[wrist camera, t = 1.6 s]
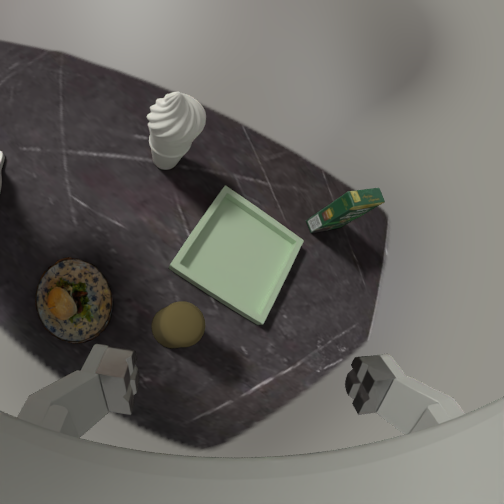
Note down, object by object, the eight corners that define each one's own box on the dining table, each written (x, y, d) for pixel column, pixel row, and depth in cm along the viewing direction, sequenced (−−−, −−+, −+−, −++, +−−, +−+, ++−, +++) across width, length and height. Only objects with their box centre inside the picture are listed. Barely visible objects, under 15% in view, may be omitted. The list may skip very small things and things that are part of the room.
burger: (126, 323, 38) (124, 320, 32) (58, 356, 33) (43, 359, 26) (94, 247, 39) (87, 230, 33) (27, 278, 34) (9, 266, 27)
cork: (197, 343, 41) (217, 345, 31) (156, 352, 39) (163, 356, 29) (188, 303, 42) (205, 291, 33) (147, 310, 40) (151, 300, 30)
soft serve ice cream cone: (189, 142, 50) (214, 77, 36) (189, 182, 48) (216, 120, 34) (142, 139, 47) (154, 70, 33) (139, 179, 45) (148, 114, 30)
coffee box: (309, 235, 54) (355, 206, 42) (303, 220, 54) (348, 189, 43) (340, 228, 57) (386, 202, 46) (335, 215, 58) (380, 186, 46)
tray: (168, 268, 43) (169, 264, 41) (221, 191, 50) (225, 185, 48) (257, 325, 45) (263, 324, 44) (297, 244, 52) (303, 240, 50)
